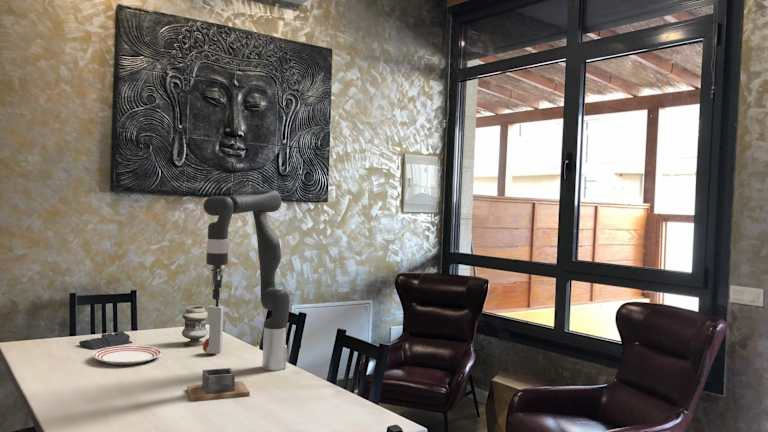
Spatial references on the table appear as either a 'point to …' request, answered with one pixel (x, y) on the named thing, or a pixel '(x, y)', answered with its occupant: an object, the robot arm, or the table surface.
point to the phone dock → (217, 386)
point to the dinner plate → (127, 354)
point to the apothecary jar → (194, 325)
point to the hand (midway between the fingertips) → (215, 299)
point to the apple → (207, 346)
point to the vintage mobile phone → (215, 328)
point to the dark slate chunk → (107, 341)
